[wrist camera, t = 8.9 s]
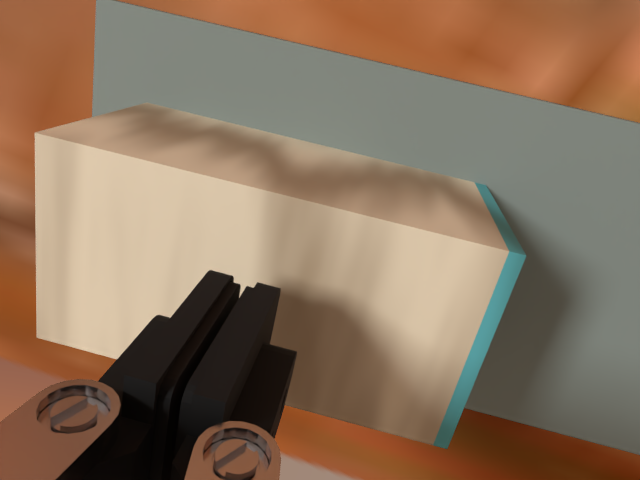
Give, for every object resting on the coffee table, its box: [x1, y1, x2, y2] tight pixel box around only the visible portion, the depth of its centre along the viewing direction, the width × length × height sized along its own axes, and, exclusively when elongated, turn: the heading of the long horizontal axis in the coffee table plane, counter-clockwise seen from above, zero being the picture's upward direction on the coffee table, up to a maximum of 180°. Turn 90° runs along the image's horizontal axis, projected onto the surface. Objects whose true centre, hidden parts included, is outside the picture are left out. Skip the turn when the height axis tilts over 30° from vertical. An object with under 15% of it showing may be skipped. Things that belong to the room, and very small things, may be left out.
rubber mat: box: [92, 0, 640, 455], centre depth 19 cm, size 26×12×1 cm, turn 78°
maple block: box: [35, 103, 526, 449], centre depth 16 cm, size 6×6×12 cm
